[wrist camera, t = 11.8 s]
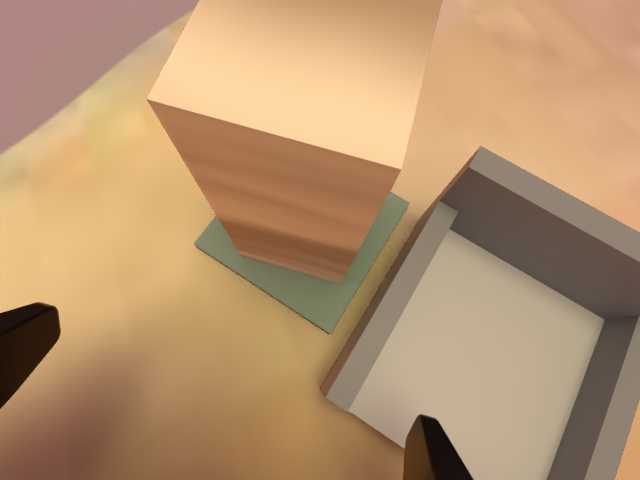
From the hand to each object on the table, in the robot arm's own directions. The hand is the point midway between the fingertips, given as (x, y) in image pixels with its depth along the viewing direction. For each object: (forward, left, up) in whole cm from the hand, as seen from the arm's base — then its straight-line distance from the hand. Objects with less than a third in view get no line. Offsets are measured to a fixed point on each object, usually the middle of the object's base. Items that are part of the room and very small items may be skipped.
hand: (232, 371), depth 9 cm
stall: (+5, -7, -6) cm, 10 cm away
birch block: (+6, +2, -6) cm, 9 cm away
